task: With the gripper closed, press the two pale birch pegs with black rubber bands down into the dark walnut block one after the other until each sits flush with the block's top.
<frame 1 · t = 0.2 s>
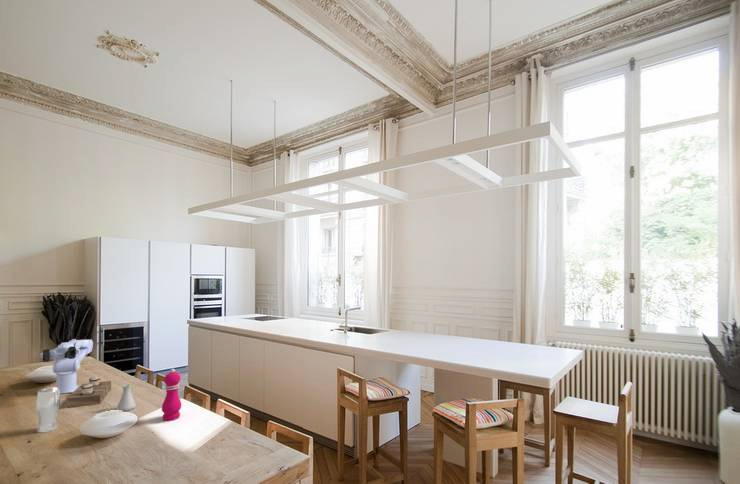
hand: (54, 357, 172), 21 cm above the table, tool horizontal, fingers open, 7 cm apart
beer glass: (47, 429, 146), on the table
walnut block: (90, 397, 179), on the table
flask: (126, 409, 166), on the table
birch peg outer: (87, 389, 174), point 6 cm above the table, slide at 3.5 cm
pepper mill: (171, 418, 156), on the table
birch peg inner: (94, 382, 185), point 6 cm above the table, slide at 3.5 cm
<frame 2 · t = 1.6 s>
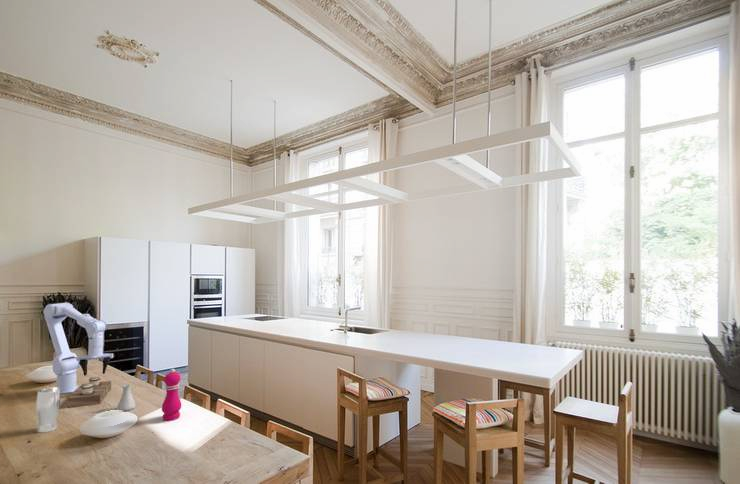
hand: (94, 374, 185), 9 cm above the table, tool pointing down, fingers open, 7 cm apart
nothing on the table moved.
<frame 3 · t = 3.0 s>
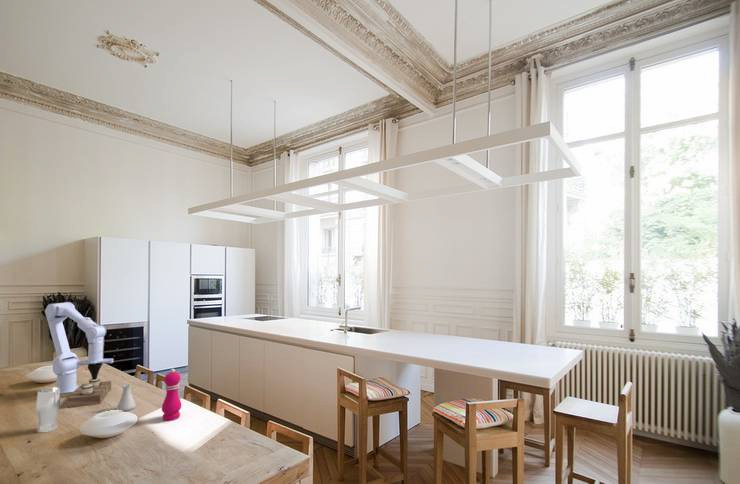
hand: (94, 379, 185), 7 cm above the table, tool pointing down, fingers closed, pressing on birch peg inner
birch peg inner: (94, 383, 185), point 5 cm above the table, slide at 3.0 cm, touching gripper
everything else where it was.
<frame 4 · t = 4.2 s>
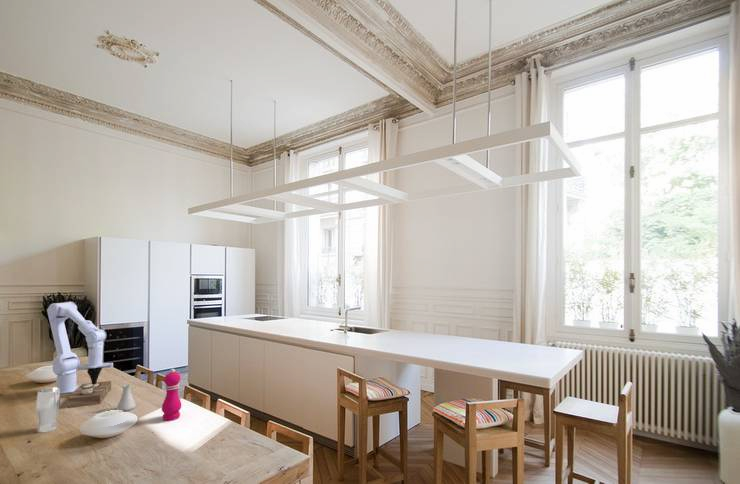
hand: (94, 383, 185), 5 cm above the table, tool pointing down, fingers closed
birch peg inner: (94, 388, 185), point 2 cm above the table, slide at 0.3 cm
everything else where it was.
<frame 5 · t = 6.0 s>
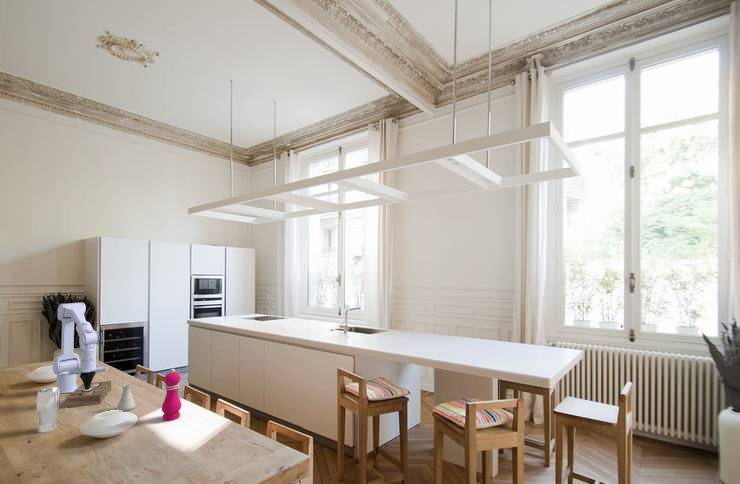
hand: (87, 389, 174), 6 cm above the table, tool pointing down, fingers closed, pressing on birch peg outer
birch peg outer: (87, 393, 174), point 4 cm above the table, slide at 2.0 cm, touching gripper
everything else where it was.
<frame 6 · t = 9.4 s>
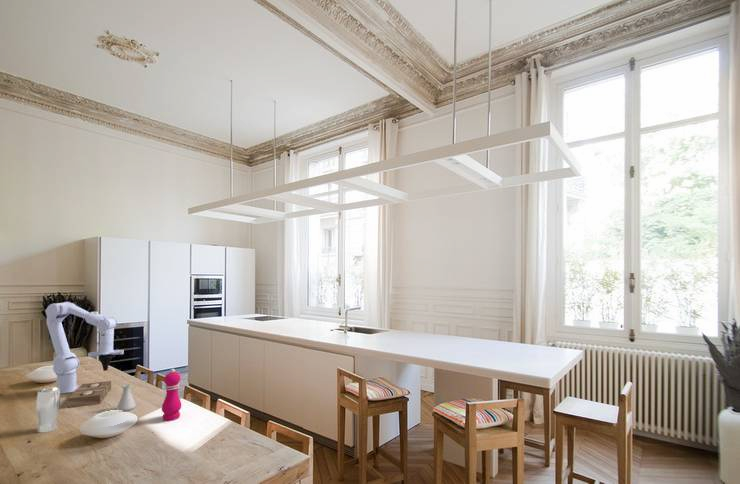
hand: (105, 370, 189), 10 cm above the table, tool pointing down, fingers closed
birch peg outer: (87, 396, 174), point 2 cm above the table, slide at 0.3 cm
everything else where it was.
at the end: birch peg inner slide at 0.3 cm; birch peg outer slide at 0.3 cm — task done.
